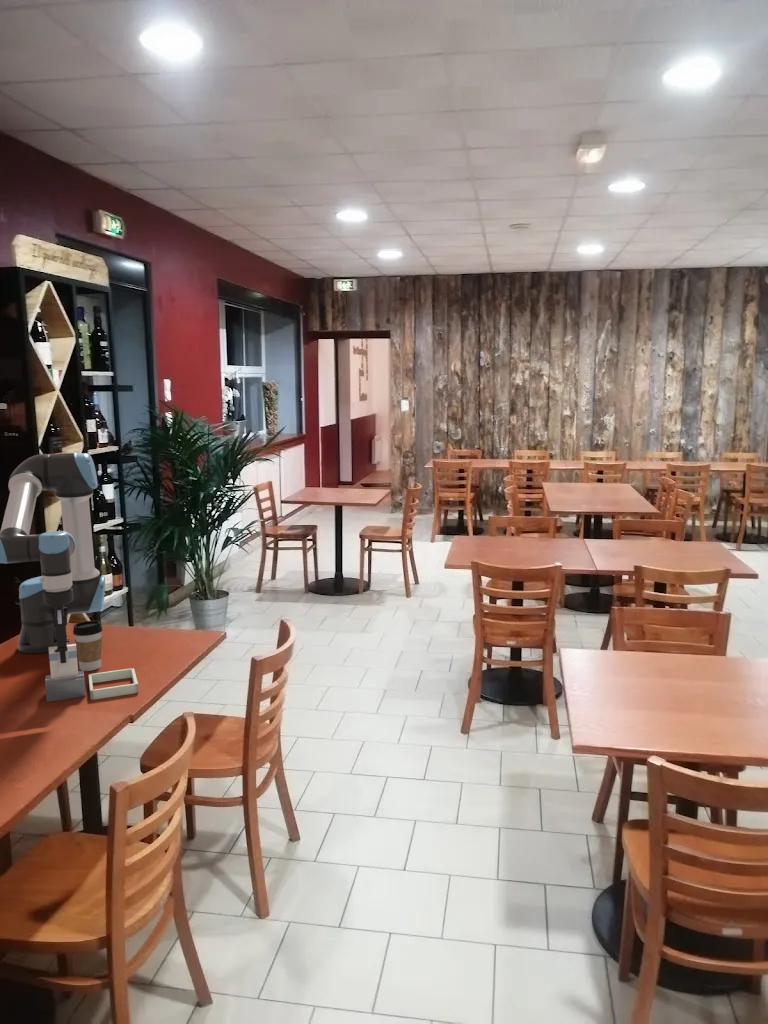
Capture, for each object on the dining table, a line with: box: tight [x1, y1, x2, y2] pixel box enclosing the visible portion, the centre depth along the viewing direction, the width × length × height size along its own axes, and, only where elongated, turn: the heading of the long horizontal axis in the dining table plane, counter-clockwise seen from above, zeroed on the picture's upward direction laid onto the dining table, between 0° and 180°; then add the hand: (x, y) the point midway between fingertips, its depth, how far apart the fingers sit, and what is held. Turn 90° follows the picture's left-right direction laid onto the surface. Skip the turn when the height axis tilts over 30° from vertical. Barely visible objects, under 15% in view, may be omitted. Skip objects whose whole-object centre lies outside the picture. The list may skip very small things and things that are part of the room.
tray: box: [88, 667, 140, 701], centre depth 222 cm, size 14×13×4 cm
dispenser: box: [44, 670, 87, 703], centre depth 218 cm, size 7×10×7 cm
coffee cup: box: [72, 620, 103, 672], centre depth 238 cm, size 8×8×15 cm
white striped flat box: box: [48, 643, 79, 678], centre depth 217 cm, size 2×7×14 cm, turn 112°
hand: (64, 669), depth 217 cm, fingers open, 5 cm apart
